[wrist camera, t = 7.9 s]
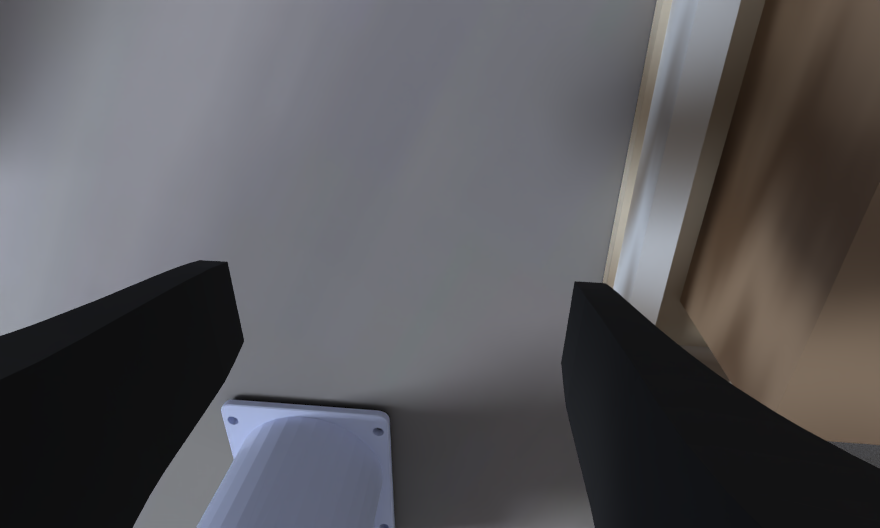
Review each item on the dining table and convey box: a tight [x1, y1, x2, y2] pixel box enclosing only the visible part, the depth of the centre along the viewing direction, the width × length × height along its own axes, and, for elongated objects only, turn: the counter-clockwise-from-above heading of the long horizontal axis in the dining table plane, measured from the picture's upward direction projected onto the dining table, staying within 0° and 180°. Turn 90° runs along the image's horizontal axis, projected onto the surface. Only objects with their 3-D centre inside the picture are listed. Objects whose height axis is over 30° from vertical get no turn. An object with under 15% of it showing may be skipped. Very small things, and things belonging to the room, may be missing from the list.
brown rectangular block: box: [680, 0, 880, 445], centre depth 13 cm, size 12×4×6 cm, turn 179°
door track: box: [602, 0, 765, 384], centre depth 15 cm, size 18×9×3 cm, turn 179°
